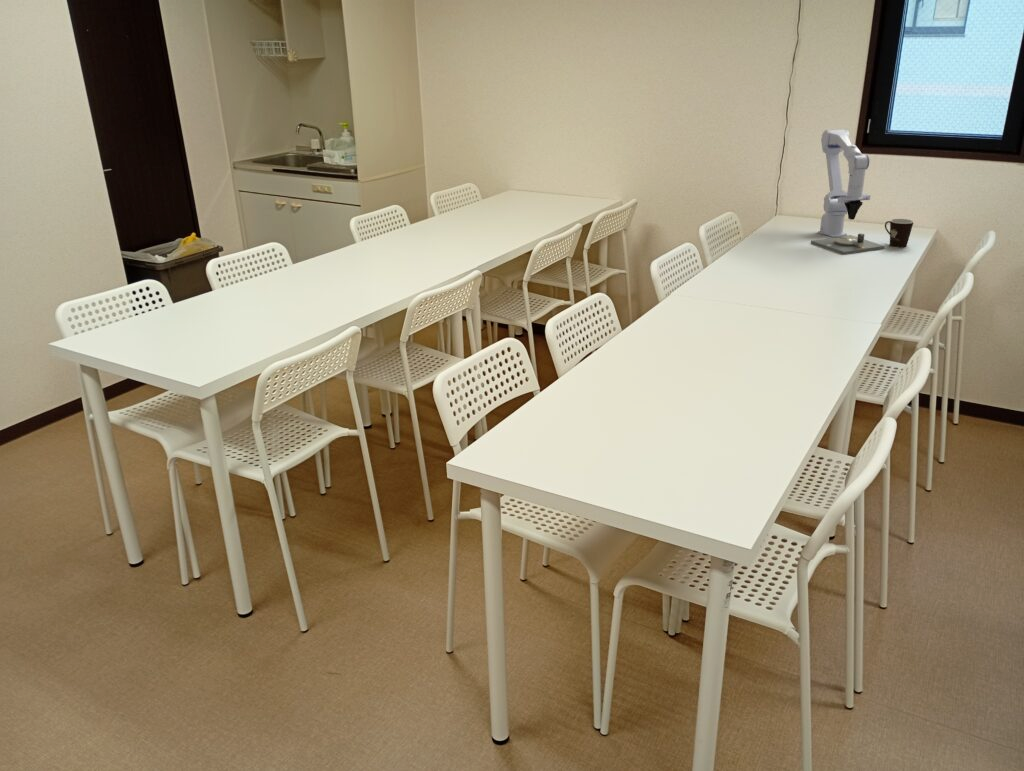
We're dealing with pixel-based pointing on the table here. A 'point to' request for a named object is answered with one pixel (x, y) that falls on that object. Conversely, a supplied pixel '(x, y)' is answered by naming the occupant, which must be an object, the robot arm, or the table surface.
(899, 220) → the coffee mug
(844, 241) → the dial
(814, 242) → the panel
